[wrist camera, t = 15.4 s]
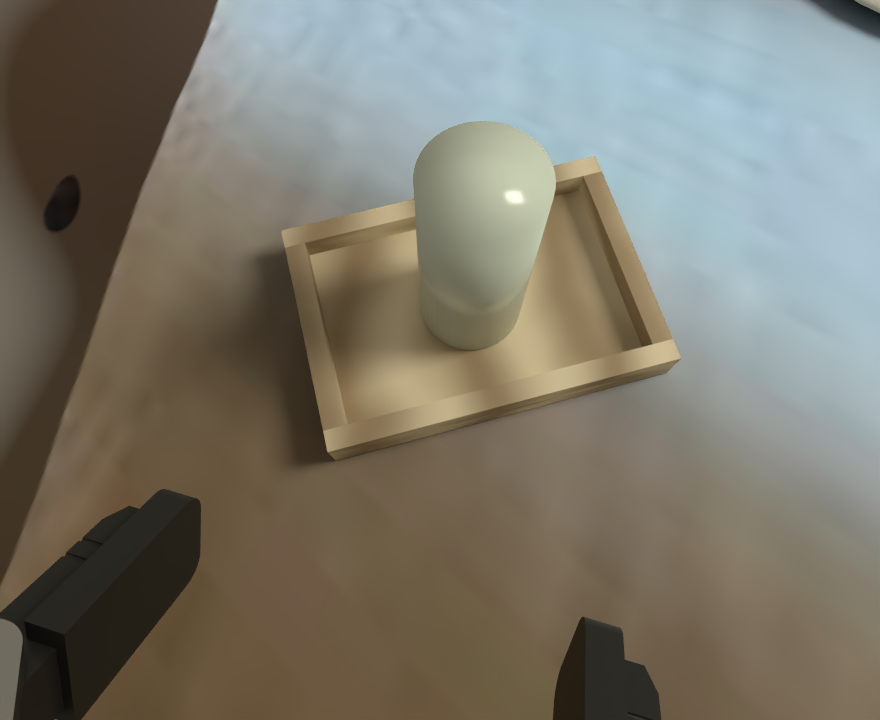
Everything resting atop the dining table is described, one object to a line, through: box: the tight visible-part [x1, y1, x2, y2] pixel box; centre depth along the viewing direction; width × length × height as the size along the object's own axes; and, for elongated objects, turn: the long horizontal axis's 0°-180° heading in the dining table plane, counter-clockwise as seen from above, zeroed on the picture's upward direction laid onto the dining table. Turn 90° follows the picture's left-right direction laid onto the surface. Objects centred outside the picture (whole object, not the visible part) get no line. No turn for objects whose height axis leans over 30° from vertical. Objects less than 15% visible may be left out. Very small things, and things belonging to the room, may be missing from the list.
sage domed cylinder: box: [413, 121, 556, 350], centre depth 32 cm, size 6×6×12 cm
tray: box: [282, 156, 681, 461], centre depth 37 cm, size 20×14×2 cm
